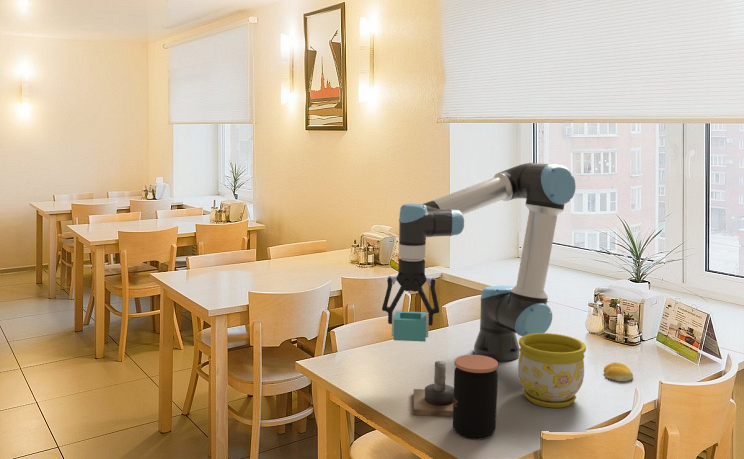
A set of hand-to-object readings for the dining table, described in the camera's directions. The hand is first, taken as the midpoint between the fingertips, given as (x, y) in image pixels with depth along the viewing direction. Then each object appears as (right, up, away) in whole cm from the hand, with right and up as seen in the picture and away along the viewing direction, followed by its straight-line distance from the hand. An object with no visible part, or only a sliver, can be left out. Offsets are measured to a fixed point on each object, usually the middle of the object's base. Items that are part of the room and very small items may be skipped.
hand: (410, 335), depth 190 cm
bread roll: (+65, -15, +13) cm, 68 cm away
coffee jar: (+14, -20, -25) cm, 35 cm away
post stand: (+7, -17, -10) cm, 21 cm away
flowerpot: (+39, -17, -5) cm, 43 cm away
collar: (0, 0, 0) cm, 0 cm away
